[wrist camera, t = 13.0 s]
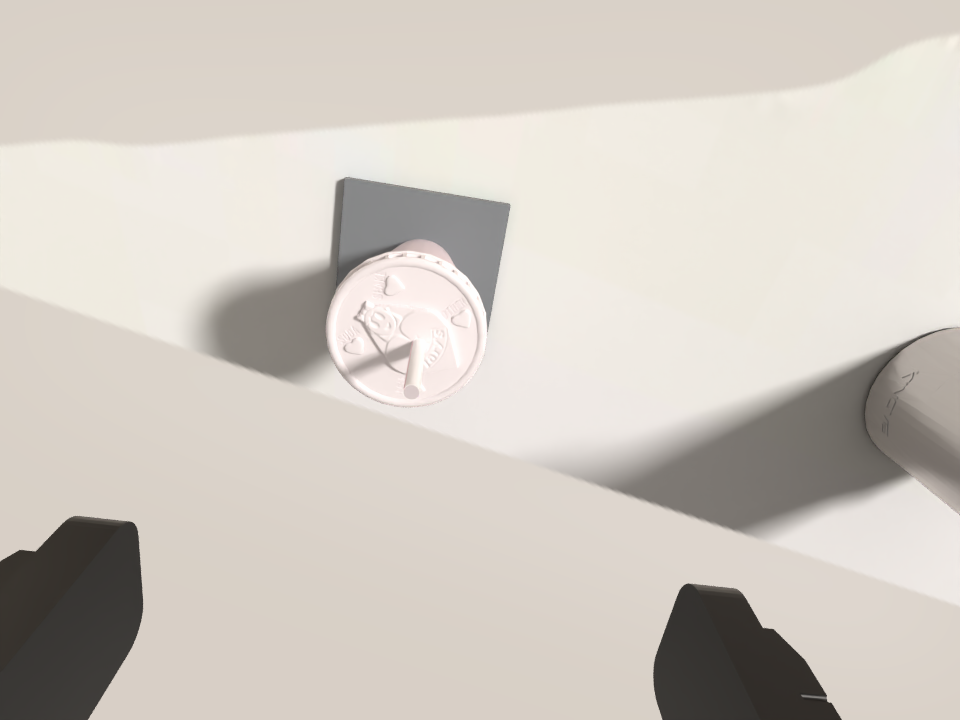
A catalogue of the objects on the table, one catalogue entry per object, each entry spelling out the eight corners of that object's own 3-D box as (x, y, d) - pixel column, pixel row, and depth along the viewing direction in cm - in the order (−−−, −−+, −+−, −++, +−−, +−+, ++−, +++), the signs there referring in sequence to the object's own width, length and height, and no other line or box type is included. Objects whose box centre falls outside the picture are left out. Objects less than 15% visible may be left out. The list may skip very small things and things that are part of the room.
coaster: (509, 203, 32) (510, 205, 31) (482, 351, 35) (483, 355, 35) (346, 177, 31) (344, 178, 31) (334, 331, 34) (332, 334, 34)
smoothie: (438, 349, 34) (428, 497, 21) (337, 290, 33) (261, 410, 20) (502, 255, 32) (533, 356, 19) (398, 188, 31) (357, 247, 18)
